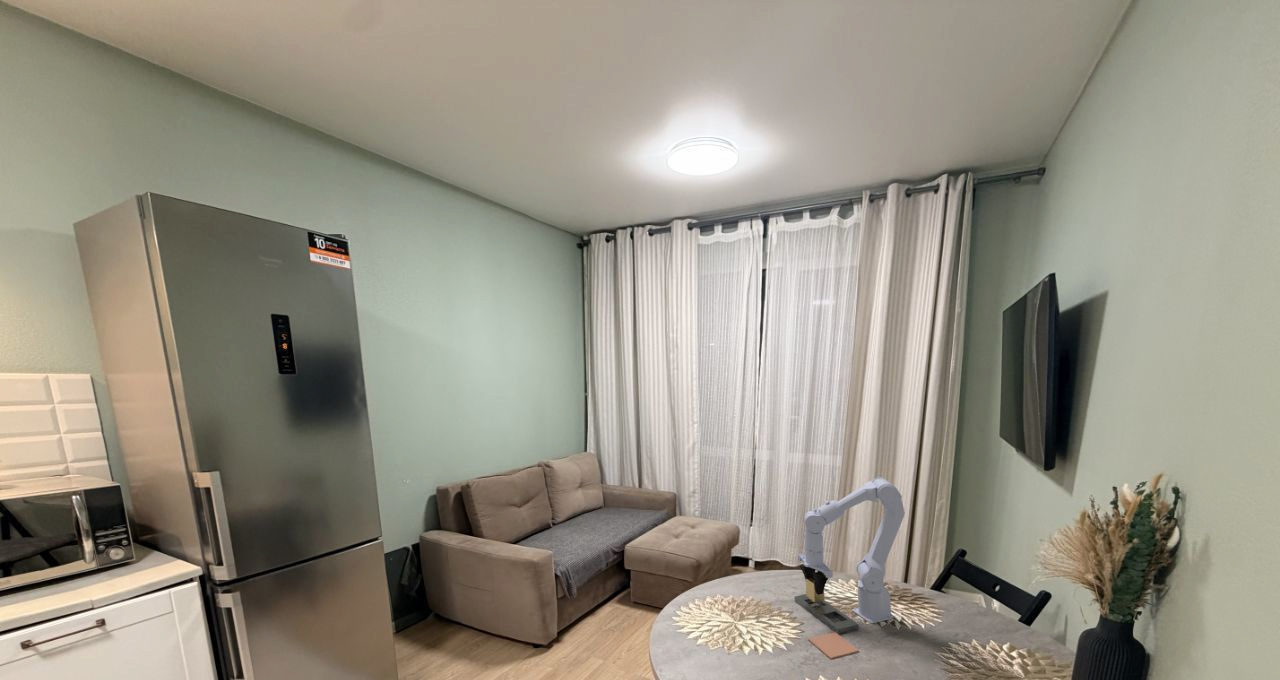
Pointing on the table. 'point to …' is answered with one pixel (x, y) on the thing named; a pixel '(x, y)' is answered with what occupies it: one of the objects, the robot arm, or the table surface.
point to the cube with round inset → (813, 591)
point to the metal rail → (828, 615)
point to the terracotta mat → (833, 645)
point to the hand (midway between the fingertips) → (815, 590)
